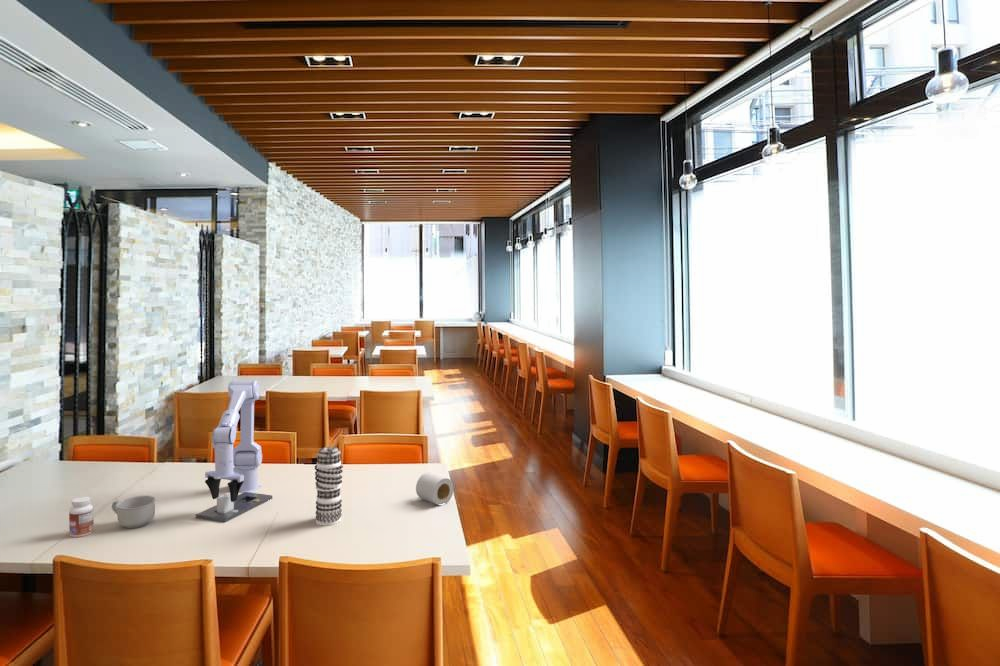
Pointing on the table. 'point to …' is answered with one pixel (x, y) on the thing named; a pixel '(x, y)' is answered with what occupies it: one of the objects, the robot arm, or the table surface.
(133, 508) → the teacup
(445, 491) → the toilet paper
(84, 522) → the pill bottle
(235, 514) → the panel
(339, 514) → the grey patterned cylinder
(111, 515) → the table surface
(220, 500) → the plug
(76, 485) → the table surface
